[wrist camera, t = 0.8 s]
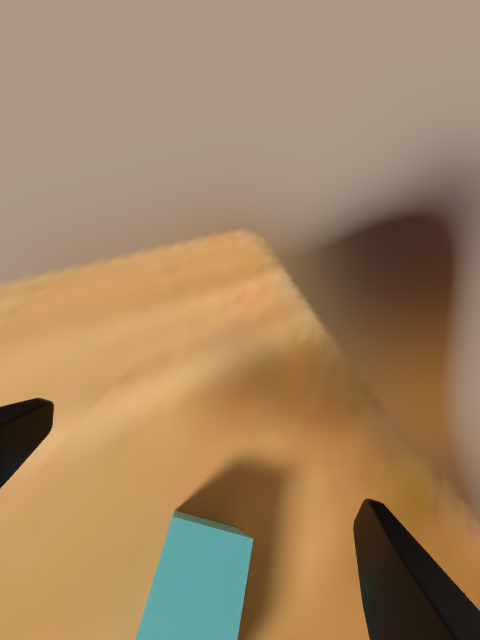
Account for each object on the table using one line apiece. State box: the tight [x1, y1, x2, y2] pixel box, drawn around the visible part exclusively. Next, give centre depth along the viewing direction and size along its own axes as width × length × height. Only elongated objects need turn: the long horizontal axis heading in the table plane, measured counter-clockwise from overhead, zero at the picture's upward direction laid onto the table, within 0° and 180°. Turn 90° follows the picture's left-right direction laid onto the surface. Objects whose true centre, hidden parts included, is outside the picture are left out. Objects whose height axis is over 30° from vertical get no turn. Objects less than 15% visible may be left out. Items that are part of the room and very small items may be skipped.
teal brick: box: [136, 511, 253, 640], centre depth 13 cm, size 7×4×5 cm, turn 167°
